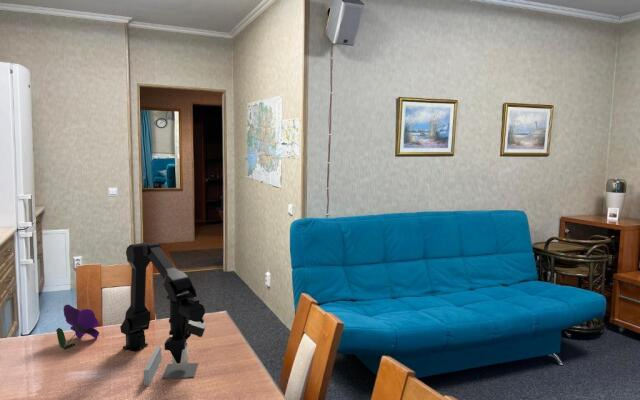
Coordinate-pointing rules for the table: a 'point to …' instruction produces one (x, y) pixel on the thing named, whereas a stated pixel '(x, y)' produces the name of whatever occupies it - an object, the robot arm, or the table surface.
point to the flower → (78, 324)
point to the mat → (180, 371)
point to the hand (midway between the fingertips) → (180, 359)
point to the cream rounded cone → (183, 359)
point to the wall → (152, 366)
